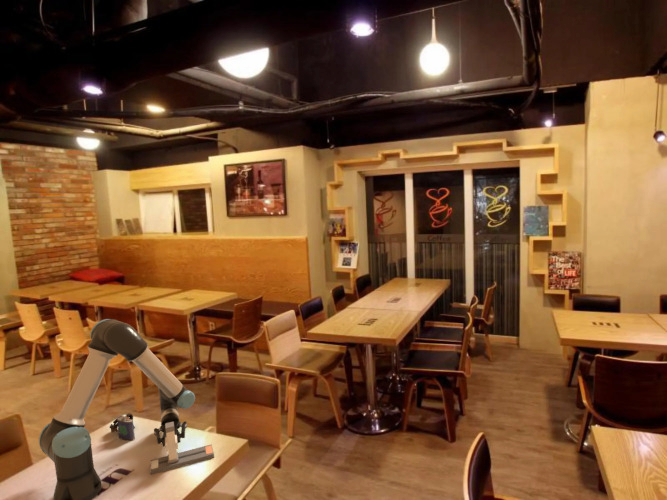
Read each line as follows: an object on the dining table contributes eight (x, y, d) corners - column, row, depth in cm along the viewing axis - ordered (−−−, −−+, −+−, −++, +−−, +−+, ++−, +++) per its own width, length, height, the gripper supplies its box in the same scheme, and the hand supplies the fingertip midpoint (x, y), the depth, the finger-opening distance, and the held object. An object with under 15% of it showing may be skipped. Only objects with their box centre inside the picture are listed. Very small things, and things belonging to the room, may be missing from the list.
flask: (136, 438, 191) (133, 416, 190) (130, 441, 188) (128, 419, 187) (122, 435, 195) (119, 413, 194) (116, 438, 192) (114, 416, 191)
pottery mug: (130, 436, 194) (118, 424, 191) (115, 444, 196) (103, 432, 193) (142, 417, 205) (131, 406, 202) (128, 425, 207) (117, 413, 205)
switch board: (150, 474, 163) (150, 470, 163) (151, 463, 170) (150, 459, 170) (214, 457, 172) (213, 453, 172) (211, 447, 179) (211, 444, 179)
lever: (168, 463, 166) (164, 429, 165) (167, 456, 171) (164, 422, 170) (178, 461, 168) (175, 426, 166) (178, 453, 173) (174, 420, 172)
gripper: (190, 424, 189) (193, 450, 167) (151, 433, 183) (150, 462, 161) (188, 408, 188) (192, 432, 167) (149, 417, 182) (148, 443, 161)
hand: (171, 447), depth 164 cm, fingers closed on lever, 3 cm apart
